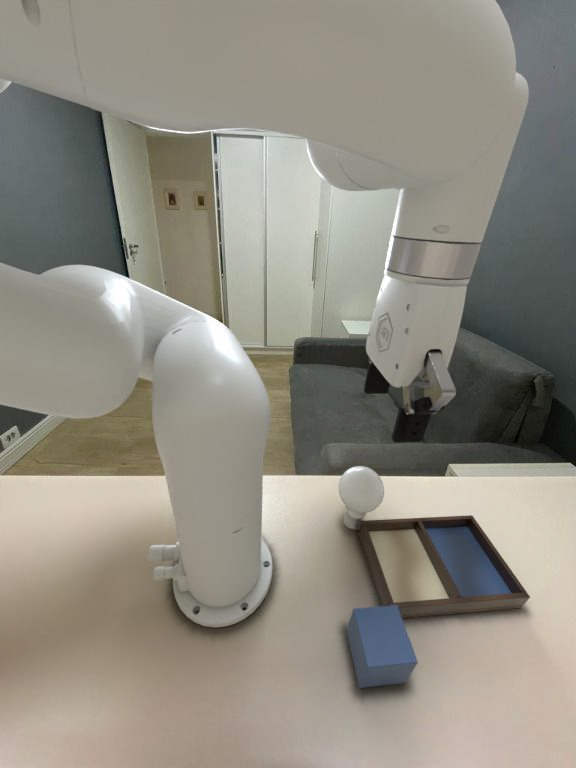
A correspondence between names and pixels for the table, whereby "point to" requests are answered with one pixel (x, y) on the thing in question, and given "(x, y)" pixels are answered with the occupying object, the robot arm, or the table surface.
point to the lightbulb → (360, 494)
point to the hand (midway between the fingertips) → (389, 413)
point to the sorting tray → (438, 566)
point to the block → (380, 646)
